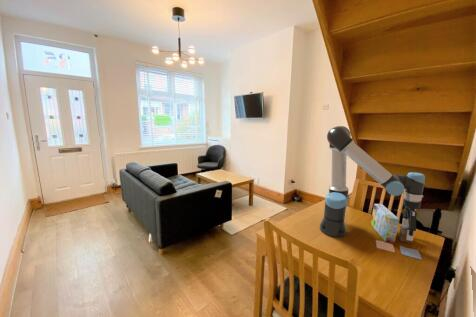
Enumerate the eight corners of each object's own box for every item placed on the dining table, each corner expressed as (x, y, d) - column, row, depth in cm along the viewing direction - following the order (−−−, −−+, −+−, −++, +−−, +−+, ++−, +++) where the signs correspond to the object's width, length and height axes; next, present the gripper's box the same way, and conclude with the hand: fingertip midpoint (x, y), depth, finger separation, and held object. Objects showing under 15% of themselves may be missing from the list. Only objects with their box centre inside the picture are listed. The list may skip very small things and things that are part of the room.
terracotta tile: (376, 248, 113) (377, 247, 113) (375, 240, 120) (375, 240, 120) (394, 252, 109) (395, 252, 109) (392, 244, 116) (392, 244, 116)
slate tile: (402, 254, 108) (402, 254, 108) (399, 246, 114) (399, 245, 114) (421, 260, 104) (422, 259, 104) (417, 251, 111) (418, 250, 111)
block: (400, 240, 120) (402, 227, 118) (398, 236, 124) (401, 223, 123) (411, 243, 118) (413, 229, 116) (409, 238, 122) (411, 226, 120)
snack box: (396, 243, 117) (400, 219, 114) (385, 242, 118) (389, 218, 115) (379, 224, 138) (382, 203, 135) (369, 223, 139) (372, 202, 136)
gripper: (427, 209, 104) (420, 247, 108) (415, 194, 125) (410, 226, 129) (408, 206, 107) (402, 243, 111) (400, 192, 129) (395, 223, 133)
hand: (406, 234), depth 120 cm, fingers open, 13 cm apart
